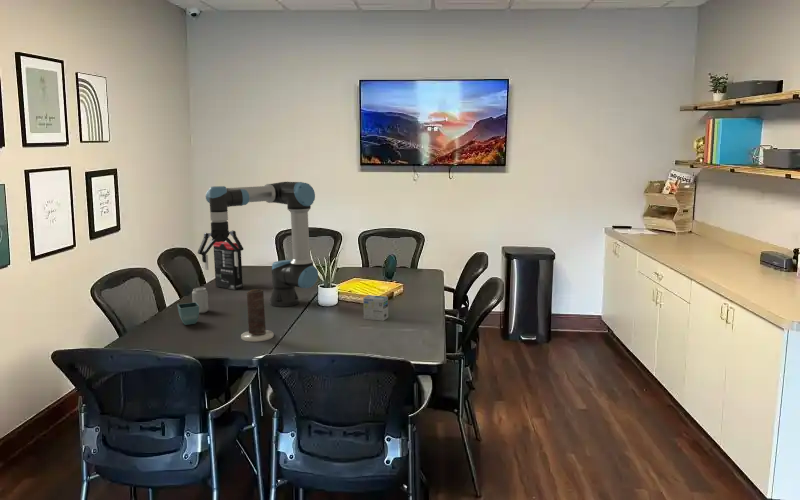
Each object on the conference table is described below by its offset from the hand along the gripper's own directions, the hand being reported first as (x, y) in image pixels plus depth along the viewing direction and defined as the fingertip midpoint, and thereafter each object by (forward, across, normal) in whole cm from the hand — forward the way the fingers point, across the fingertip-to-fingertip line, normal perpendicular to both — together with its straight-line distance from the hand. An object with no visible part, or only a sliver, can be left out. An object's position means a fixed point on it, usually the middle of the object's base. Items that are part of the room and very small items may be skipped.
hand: (221, 267), depth 295 cm
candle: (+28, -8, +20) cm, 35 cm away
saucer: (+29, -8, +20) cm, 36 cm away
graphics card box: (+29, -30, -84) cm, 94 cm away
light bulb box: (+29, -67, +23) cm, 77 cm away
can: (+29, 0, -38) cm, 48 cm away
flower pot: (+29, +11, -19) cm, 36 cm away
